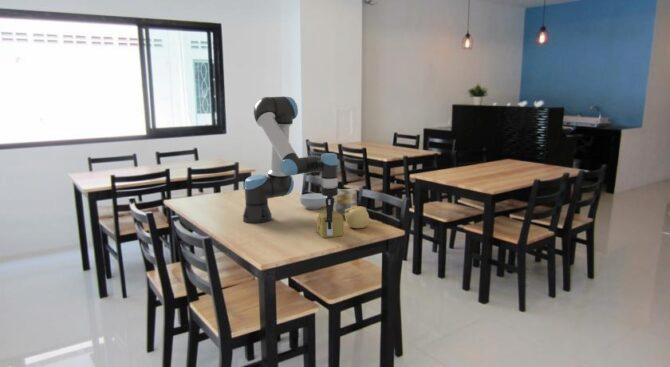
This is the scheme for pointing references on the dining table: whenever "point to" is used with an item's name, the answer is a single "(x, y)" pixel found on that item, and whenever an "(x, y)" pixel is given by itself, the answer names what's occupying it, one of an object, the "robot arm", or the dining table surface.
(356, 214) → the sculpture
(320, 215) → the cheese
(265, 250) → the dining table surface
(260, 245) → the dining table surface
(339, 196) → the stand
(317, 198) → the cereal bowl
